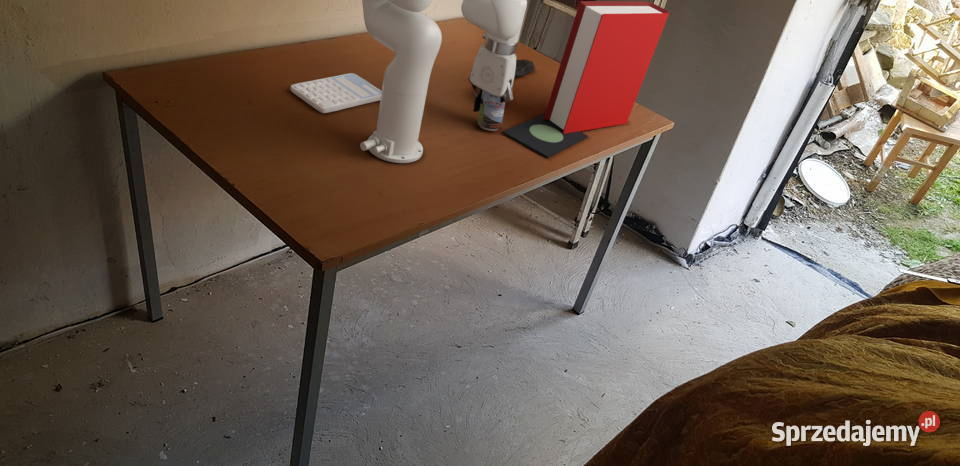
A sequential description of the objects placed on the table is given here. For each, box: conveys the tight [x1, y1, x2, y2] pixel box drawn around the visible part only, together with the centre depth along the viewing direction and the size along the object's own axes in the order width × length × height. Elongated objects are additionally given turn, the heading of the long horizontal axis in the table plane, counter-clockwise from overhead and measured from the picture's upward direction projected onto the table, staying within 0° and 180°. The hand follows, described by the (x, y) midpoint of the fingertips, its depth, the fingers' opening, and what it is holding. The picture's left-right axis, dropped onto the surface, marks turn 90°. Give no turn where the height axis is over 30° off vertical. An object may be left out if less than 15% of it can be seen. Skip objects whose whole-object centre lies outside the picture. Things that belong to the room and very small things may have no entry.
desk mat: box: [501, 113, 588, 159], centre depth 181 cm, size 20×14×1 cm
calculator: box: [289, 72, 382, 114], centre depth 174 cm, size 13×20×2 cm, turn 138°
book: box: [543, 0, 670, 134], centre depth 185 cm, size 27×8×32 cm, turn 128°
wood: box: [514, 59, 535, 79], centre depth 209 cm, size 22×7×3 cm, turn 133°
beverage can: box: [477, 90, 506, 132], centre depth 175 cm, size 6×7×12 cm
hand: (484, 113), depth 177 cm, fingers closed on beverage can, 3 cm apart
